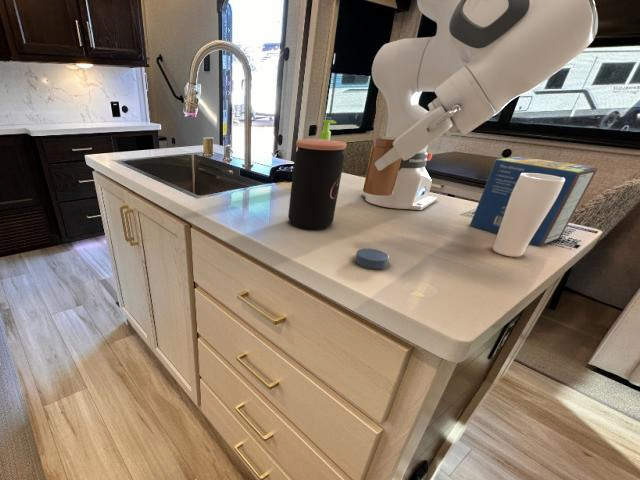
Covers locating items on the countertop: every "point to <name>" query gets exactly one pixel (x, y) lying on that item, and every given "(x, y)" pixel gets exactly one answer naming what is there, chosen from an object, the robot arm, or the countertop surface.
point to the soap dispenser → (326, 130)
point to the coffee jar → (315, 183)
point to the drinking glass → (526, 211)
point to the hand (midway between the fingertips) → (380, 164)
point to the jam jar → (385, 178)
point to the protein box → (503, 185)
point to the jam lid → (371, 258)
